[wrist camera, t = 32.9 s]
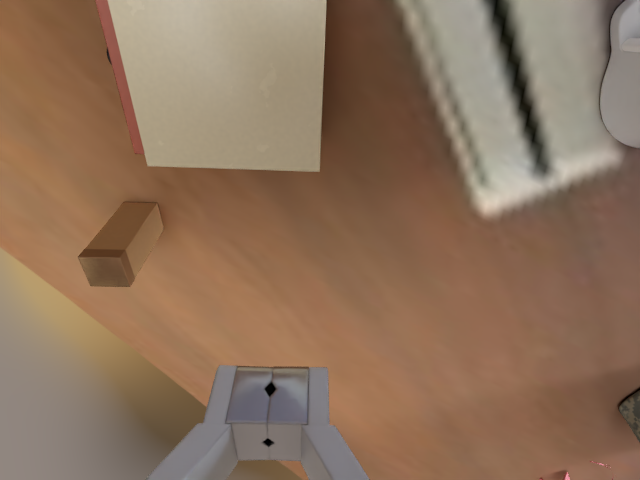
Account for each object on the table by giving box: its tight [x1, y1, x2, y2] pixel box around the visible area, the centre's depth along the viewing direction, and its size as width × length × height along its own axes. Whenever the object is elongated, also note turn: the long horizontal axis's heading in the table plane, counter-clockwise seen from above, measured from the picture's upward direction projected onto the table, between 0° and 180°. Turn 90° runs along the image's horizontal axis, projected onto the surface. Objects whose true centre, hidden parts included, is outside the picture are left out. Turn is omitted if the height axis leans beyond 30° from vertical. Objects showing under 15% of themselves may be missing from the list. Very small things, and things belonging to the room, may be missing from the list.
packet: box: [78, 202, 164, 287], centre depth 38 cm, size 4×3×10 cm
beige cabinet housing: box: [108, 0, 327, 172], centre depth 29 cm, size 14×15×8 cm
